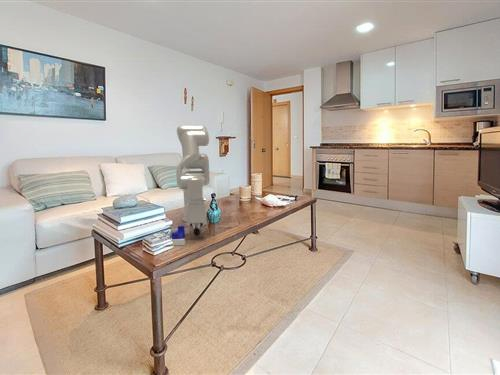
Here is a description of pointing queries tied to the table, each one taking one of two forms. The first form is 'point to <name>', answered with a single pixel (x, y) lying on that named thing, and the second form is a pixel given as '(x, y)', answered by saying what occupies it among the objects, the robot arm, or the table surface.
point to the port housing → (178, 241)
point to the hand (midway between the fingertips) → (197, 235)
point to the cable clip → (179, 233)
